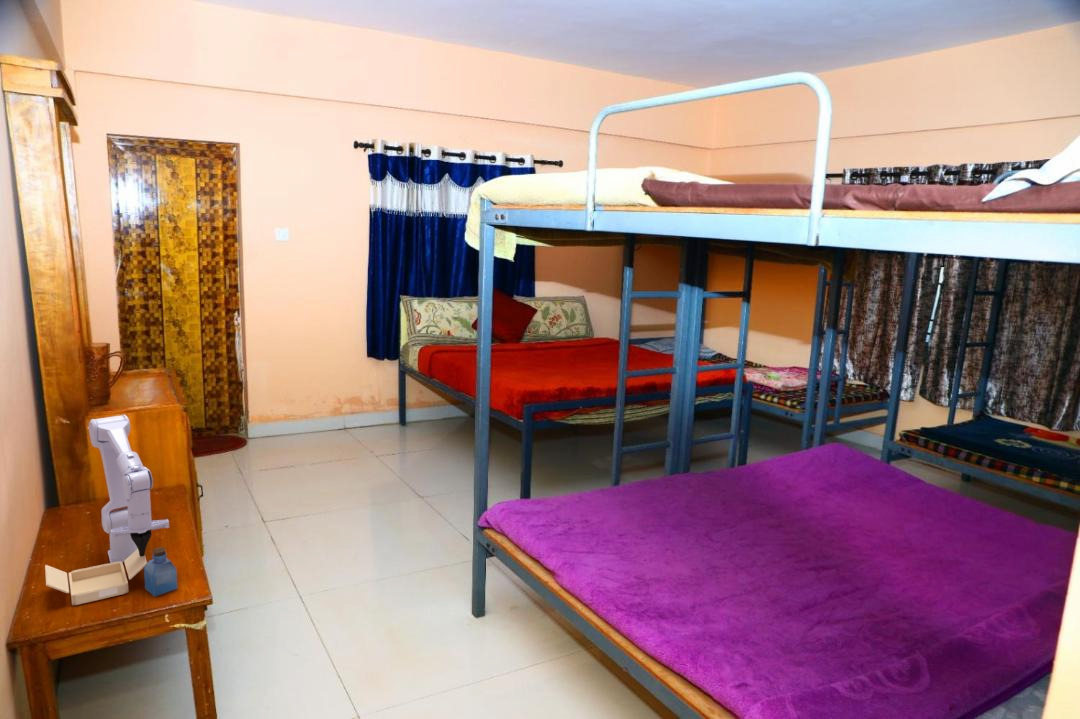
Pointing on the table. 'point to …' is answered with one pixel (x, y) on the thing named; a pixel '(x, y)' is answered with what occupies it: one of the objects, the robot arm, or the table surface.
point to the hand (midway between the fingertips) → (141, 554)
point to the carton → (97, 582)
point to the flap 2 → (135, 564)
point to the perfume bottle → (160, 574)
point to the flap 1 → (56, 579)
